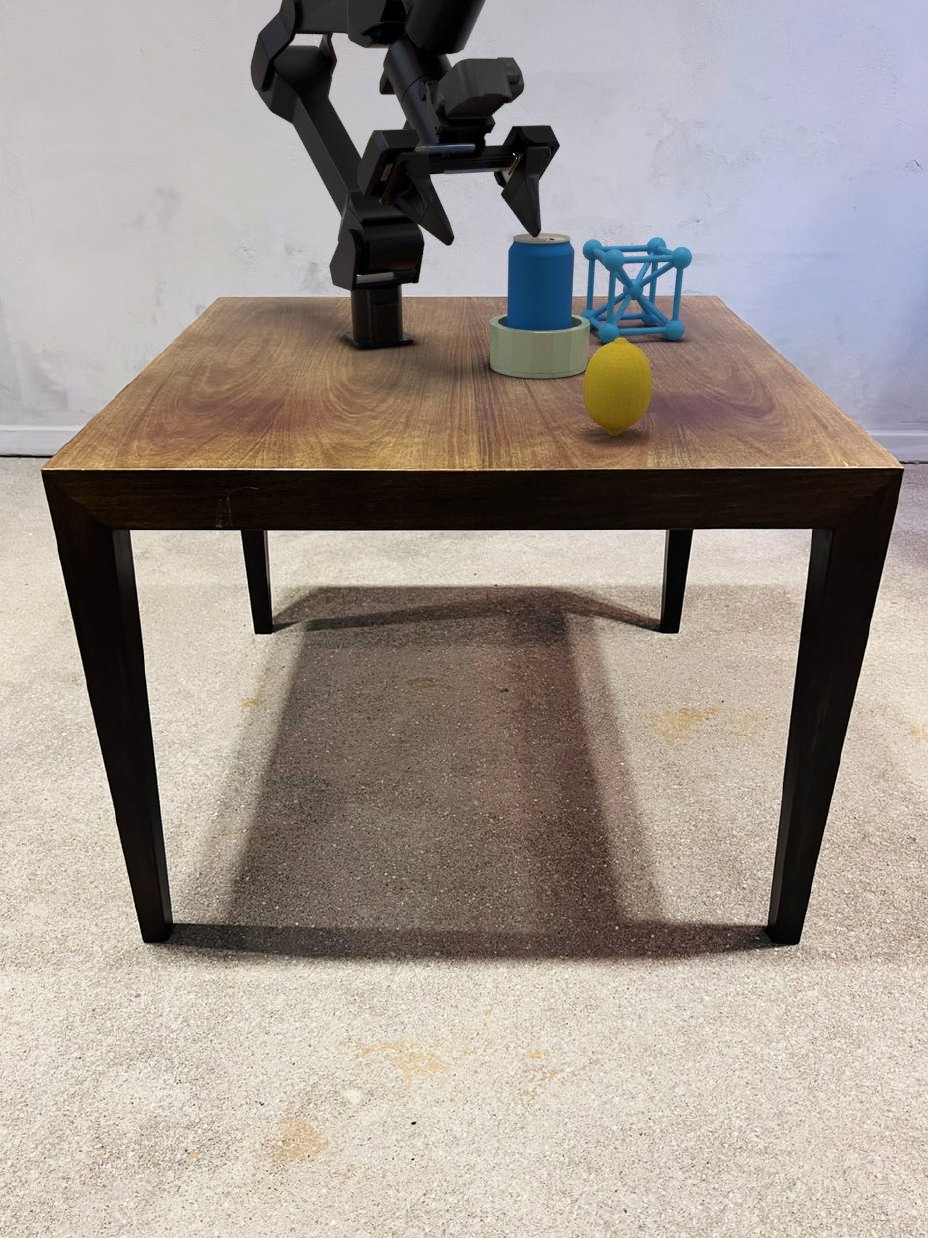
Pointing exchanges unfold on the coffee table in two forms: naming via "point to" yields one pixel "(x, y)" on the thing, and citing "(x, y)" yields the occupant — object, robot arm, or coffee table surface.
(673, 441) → the coffee table surface
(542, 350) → the collar
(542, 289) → the beverage can
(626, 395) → the lemon
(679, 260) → the molecular structure
